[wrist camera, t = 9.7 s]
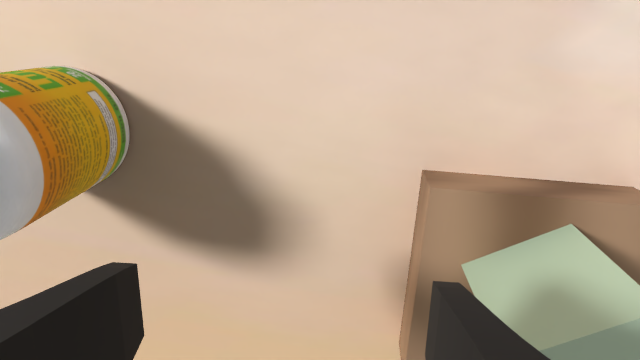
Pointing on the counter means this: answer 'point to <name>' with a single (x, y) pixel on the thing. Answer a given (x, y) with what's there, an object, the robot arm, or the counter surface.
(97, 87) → the supplement bottle
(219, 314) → the counter surface
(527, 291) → the sage block
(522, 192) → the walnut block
